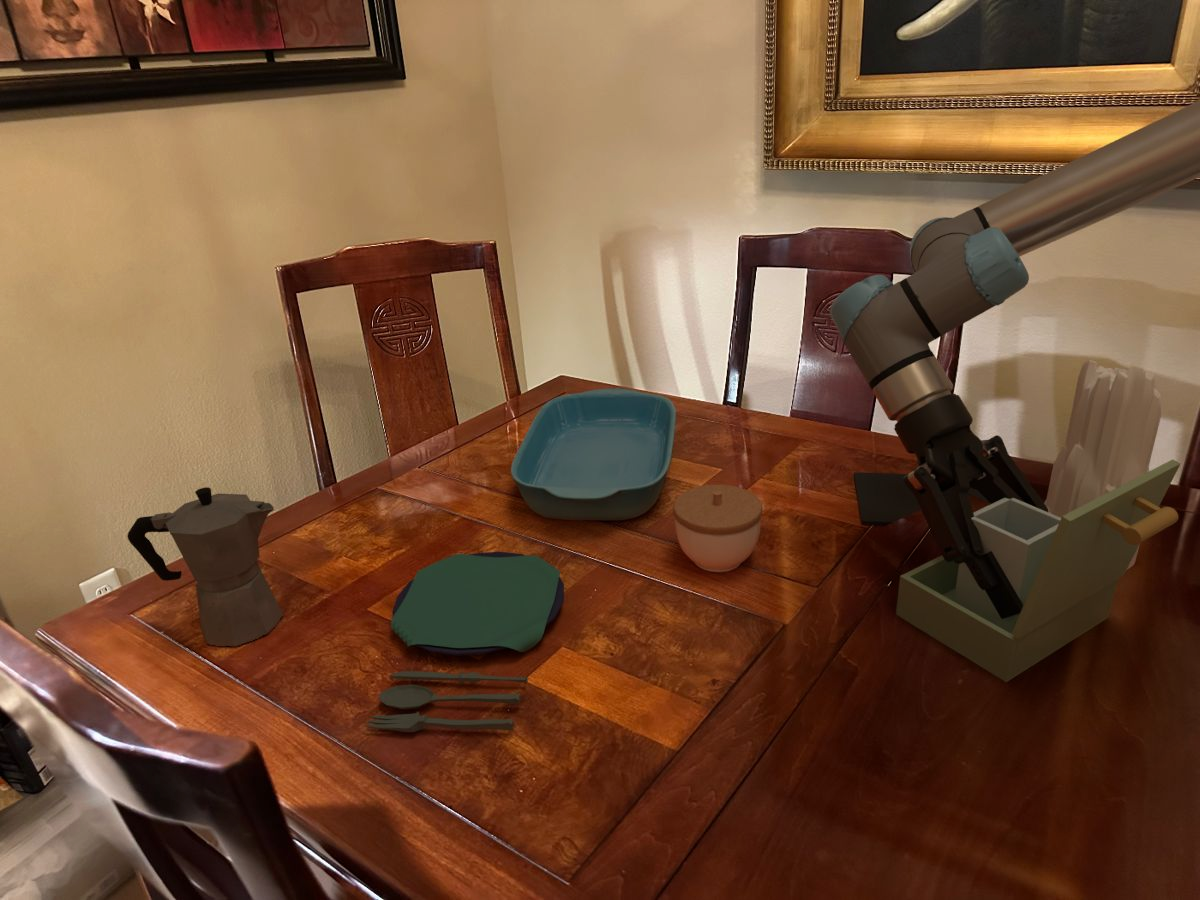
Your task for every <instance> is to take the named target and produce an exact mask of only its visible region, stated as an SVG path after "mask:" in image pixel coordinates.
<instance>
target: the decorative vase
mask: <svg viewBox="0 0 1200 900" xmlns="http://www.w3.org/2000/svg"><path fill="white" fill-rule="evenodd" d="M1161 418H1162V395H1161V394H1160V392H1159V390H1158V389H1157V388H1156V381H1155V375H1154V373H1152V371H1150V370H1148V371H1145V369H1144V368H1143V367H1140V366H1137V365H1134V364H1131V365H1130V366H1129V368H1128V370H1127V369H1124V368H1121V367H1114V369H1113V368H1111V367H1104V366H1103V365H1099V366H1098V362H1097V361H1094V360H1091V359H1089V360H1086V361H1084V362H1083V363H1082V366H1081V369H1080V371H1079V374H1078V377H1077V382H1076V386H1075V392H1074V397H1073V403H1072V408H1071V413H1070V418H1069V423H1068V429H1067V434H1066V439H1065V444H1064V446H1062V447H1061V449H1060V451H1059V453H1058V455H1056V458H1055V460H1054V461H1053V465H1052V469H1051V474H1050V480H1049V485H1048V490H1047V494H1046V499H1045V500H1044V502H1043V503H1044V504H1045V505H1046V507H1047V508H1048V513H1051V514H1053V515H1055V516H1058V517H1060V518H1062V516H1064V515H1066V514H1067V513H1069V512H1071V511H1073V510H1075V509H1077V508H1079V507H1081V506H1083V505H1085V504H1087V503H1089V502H1091V501H1093V500H1095V499H1097V498H1099V497H1101V496H1102V495H1104V494H1106V493H1108V492H1110V491H1112V490H1114V489H1116V488H1118V487H1120V486H1122V485H1124V484H1126V483H1128V482H1130V481H1132V480H1134V479H1135V478H1137V477H1139V476H1141V475H1143V474H1145V473H1147V472H1149V471H1150V462H1151V459H1152V455H1153V452H1154V451H1153V450H1154V446H1155V442H1156V438H1157V435H1158V431H1159V426H1160V422H1161ZM1140 545H1141V543H1140V544H1139V546H1138V548H1137V550H1136V552H1135V554H1134V556H1133V558H1132V560H1131V562H1130V564H1129V566H1128V568H1127V570H1129V569H1131V568H1132V567H1134V565H1135V564H1136V561H1137V558H1138V553H1139V550H1140V549H1139V548H1140Z"/></svg>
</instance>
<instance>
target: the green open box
mask: <svg viewBox="0 0 1200 900" xmlns="http://www.w3.org/2000/svg"><path fill="white" fill-rule="evenodd" d="M958 569H959V564H957V563H955V562H954V561H951V562H947V561H946V560H945V559H944V558H943V556H942V554H941V555H939V556H937V557H935V558H934V559H931V560H929V561H927V562H926V563H923V564H921V565H919V566H917V567H916V568H913V569H912V570H909V571H908V572H905V573H903V574H901V575H900V576H899V584H898V592H897V600H896V602H897V603H896V611H895V615H896V616H898V617H899V618H900V619H902V620H904V621H906V622H907V623H909V624H910V625H912V626H914V627H915V628H917V629H919V630H920V631H921V632H923V633H925V634H927V635H928V636H930V637H932V638H933V639H935V640H936V641H938V642H940V643H941V644H943V645H944V646H946V647H948V648H950V649H951V650H953V651H955V652H956V653H958V654H960V655H961V656H963V657H964V658H966V659H968V660H969V661H970V662H972V663H974V664H976V665H977V666H979V667H980V668H982V669H983V670H985V671H987V672H988V673H990V674H992V675H993V676H996V677H997V678H998V679H1000V680H1002V681H1003V682H1005V683H1007V682H1009V681H1011V680H1012V679H1013V678H1015V677H1016V676H1018V675H1020V674H1022V673H1023V672H1024V671H1026V670H1028V669H1029V668H1031V667H1033V666H1034V665H1036V664H1037V663H1039V662H1041V661H1042V660H1044V659H1045V658H1047V657H1048V656H1050V655H1052V654H1053V653H1055V652H1056V651H1058V650H1059V649H1061V648H1063V647H1065V646H1066V645H1068V644H1069V643H1071V642H1072V641H1073V640H1075V639H1077V638H1078V637H1080V636H1082V635H1083V634H1084V633H1086V632H1088V631H1089V630H1091V629H1093V628H1094V627H1095V626H1097V625H1099V624H1101V623H1102V622H1103V621H1105V620H1107V619H1109V618H1110V614H1111V610H1112V606H1113V602H1114V597H1115V594H1116V590H1117V586H1118V581H1119V579H1117V580H1116V581H1114V582H1112V583H1111V584H1109V585H1107V586H1106V587H1104V588H1102V589H1101V590H1099V591H1097V592H1096V593H1094V594H1092V595H1091V596H1089V597H1087V598H1086V599H1084V600H1082V601H1081V602H1079V603H1077V604H1076V605H1074V606H1072V607H1071V608H1069V609H1067V610H1066V611H1064V612H1062V613H1061V614H1059V615H1057V616H1056V617H1054V618H1053V619H1051V620H1049V621H1048V622H1046V623H1044V624H1043V625H1041V626H1039V627H1038V628H1036V629H1034V630H1033V631H1031V632H1029V633H1028V634H1026V635H1024V636H1023V637H1021V638H1019V639H1018V638H1016V637H1015V636H1014V635H1012V634H1011V633H1009V632H1007V631H1005V630H1004V629H1002V628H1000V627H998V626H997V625H995V624H993V623H991V622H989V621H988V620H986V619H984V618H982V617H980V616H979V615H977V614H975V613H973V612H972V611H970V610H968V609H966V608H964V607H963V606H961V605H959V604H957V603H956V602H954V596H955V589H956V583H957V576H958Z"/></svg>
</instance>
